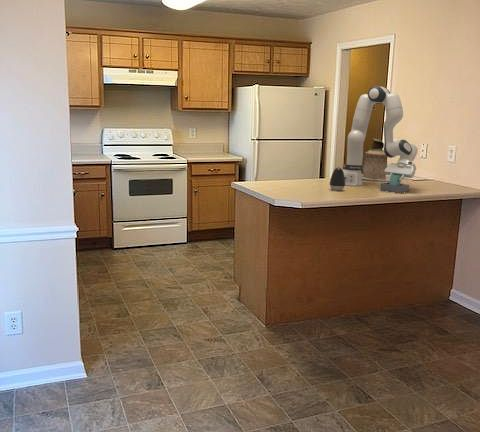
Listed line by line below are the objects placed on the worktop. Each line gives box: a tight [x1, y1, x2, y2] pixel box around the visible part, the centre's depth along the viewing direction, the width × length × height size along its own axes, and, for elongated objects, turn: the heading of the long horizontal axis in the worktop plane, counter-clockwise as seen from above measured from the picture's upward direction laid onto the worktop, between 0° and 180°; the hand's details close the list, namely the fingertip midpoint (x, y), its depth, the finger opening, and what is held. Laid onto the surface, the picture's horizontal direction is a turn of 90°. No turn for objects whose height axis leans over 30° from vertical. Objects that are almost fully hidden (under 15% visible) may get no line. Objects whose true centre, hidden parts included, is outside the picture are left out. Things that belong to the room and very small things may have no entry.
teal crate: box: [389, 174, 402, 186], centre depth 348 cm, size 6×5×8 cm
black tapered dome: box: [329, 166, 346, 192], centre depth 344 cm, size 10×10×15 cm
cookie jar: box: [362, 137, 390, 182], centre depth 407 cm, size 25×25×32 cm
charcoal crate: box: [379, 181, 410, 194], centre depth 349 cm, size 12×15×5 cm
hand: (394, 180), depth 348 cm, fingers closed on teal crate, 5 cm apart
